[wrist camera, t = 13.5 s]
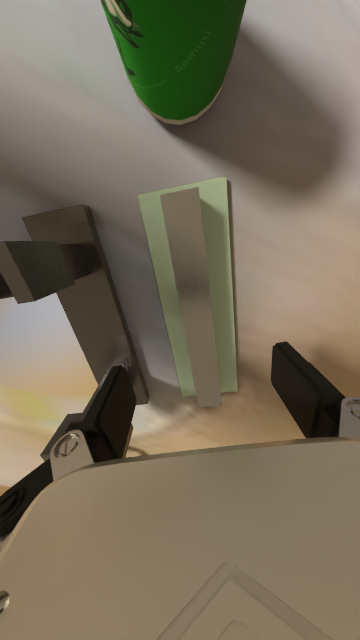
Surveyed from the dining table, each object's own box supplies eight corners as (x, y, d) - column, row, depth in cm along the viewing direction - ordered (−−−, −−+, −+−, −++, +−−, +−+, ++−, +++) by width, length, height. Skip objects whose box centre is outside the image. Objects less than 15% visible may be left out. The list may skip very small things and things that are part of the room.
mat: (138, 196, 17) (137, 194, 16) (224, 178, 16) (226, 176, 16) (182, 393, 27) (182, 396, 26) (236, 387, 26) (237, 391, 26)
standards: (30, 219, 18) (-164, 194, 8) (90, 206, 17) (-37, 162, 7) (110, 401, 28) (68, 492, 18) (150, 397, 27) (130, 488, 17)
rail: (163, 202, 17) (159, 194, 14) (196, 195, 16) (198, 186, 14) (196, 389, 26) (198, 407, 23) (218, 387, 26) (222, 405, 23)
